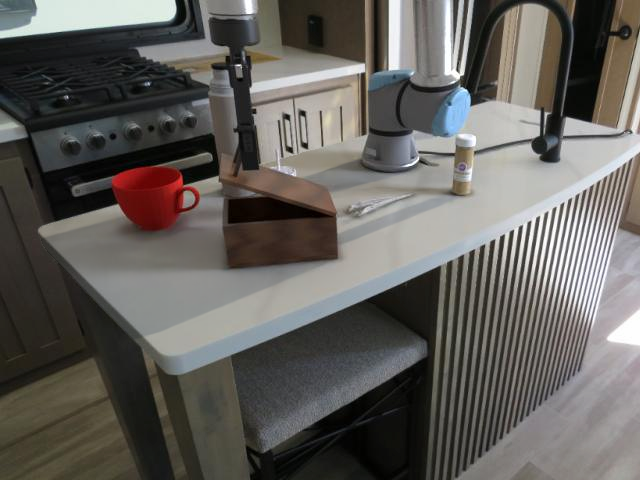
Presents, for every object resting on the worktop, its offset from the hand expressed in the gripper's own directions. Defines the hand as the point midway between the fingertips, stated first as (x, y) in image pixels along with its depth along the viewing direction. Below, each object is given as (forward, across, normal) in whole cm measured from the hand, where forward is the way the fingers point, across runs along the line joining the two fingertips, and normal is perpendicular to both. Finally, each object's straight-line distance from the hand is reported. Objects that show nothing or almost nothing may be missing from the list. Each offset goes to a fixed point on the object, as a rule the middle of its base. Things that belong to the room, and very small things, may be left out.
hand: (250, 160), depth 98 cm
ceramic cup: (+18, -14, -19) cm, 30 cm away
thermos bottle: (+18, -30, -4) cm, 35 cm away
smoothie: (+18, -16, +5) cm, 24 cm away
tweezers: (+18, -17, +27) cm, 37 cm away
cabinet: (+17, 0, +4) cm, 18 cm away
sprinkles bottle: (+18, -21, +47) cm, 55 cm away
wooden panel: (+5, 0, +4) cm, 7 cm away
